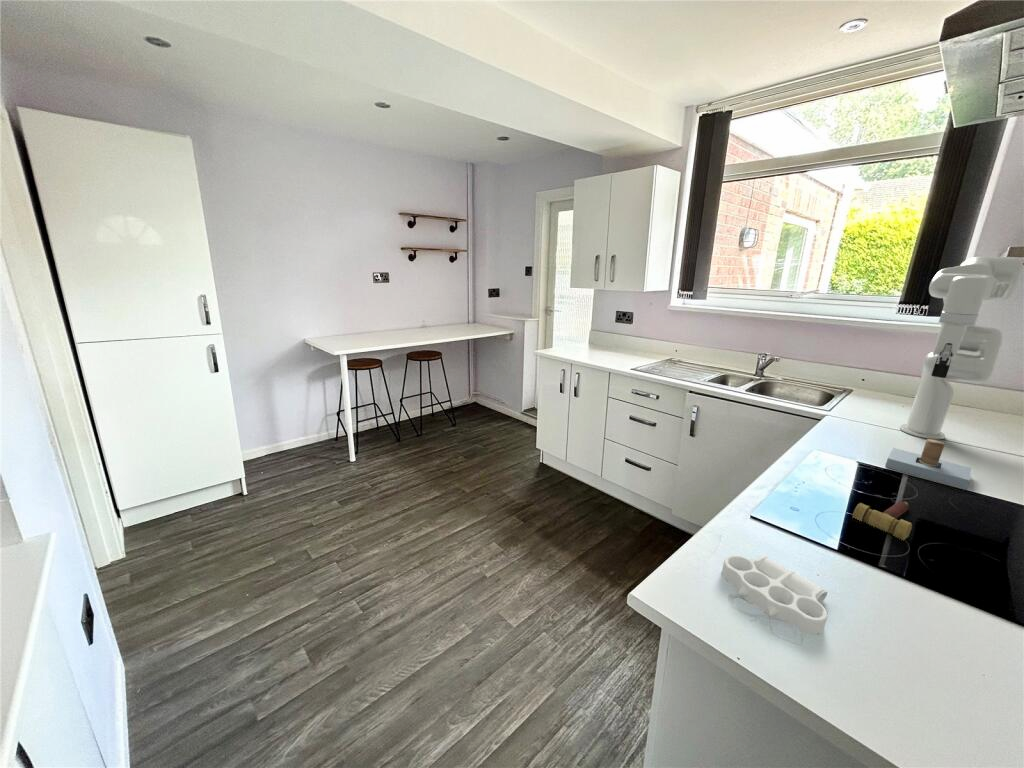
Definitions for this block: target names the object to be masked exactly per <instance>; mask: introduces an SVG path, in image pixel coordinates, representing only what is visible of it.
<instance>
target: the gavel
mask: <svg viewBox="0 0 1024 768" xmlns="http://www.w3.org/2000/svg"><path fill="white" fill-rule="evenodd" d="M909 508H910V507H909V503H908V502H907V501H898V502H896V503H894V504H893V505H892V506H890V507H888V508H887V509H885V510H884V511H882V512H881V511H879V510H876V509H871V506H870V505H867V504H864V503H862V502H859V503H858V504H857V505H856V506H855V508H854V510H853V513H852V519H853V518H855V519H857V520H859V521H861V522H862V521H863V523H865V522H866V523H865V524H867V525H868V524H869V525H868V526H870V525H871V526H870V527H872V526H873V527H872V528H875V527H876V528H875V529H877V528H878V529H877V530H879V529H880V530H879V531H882V530H883V531H882V532H884V531H885V532H884V533H886V532H889V533H888V534H890V533H891V535H892V537H893V536H895V537H897V538H899V539H898V540H900V539H901V540H900V541H902V540H903V541H904V540H905V539H906V538H907V539H908V537H909V536H910V533H911V531H912V528H913V524H912V523H911V522H909V521H907V520H904V519H902V518H901V519H899V520H898V518H900V516H902V515H903V514H904V513H906V512H907V511H908V510H909ZM895 537H894V538H895ZM897 538H896V539H897ZM907 539H906V540H907ZM906 540H905V541H906ZM905 541H904V542H905Z"/></svg>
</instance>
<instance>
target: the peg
mask: <svg viewBox="0 0 1024 768" xmlns="http://www.w3.org/2000/svg"><path fill="white" fill-rule="evenodd" d="M945 445H946V444H945V442H943V441H940V440H938V439H928V438H926V441H925V443H924V447H923V450H922V453H921V454H920V455H921V458H920V460H919V463H920V464H924V465H928V466H931V467H935V468H937V466H938V462H939V460H941V457H942V453H943V450H944V447H945Z"/></svg>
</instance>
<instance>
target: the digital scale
mask: <svg viewBox="0 0 1024 768" xmlns="http://www.w3.org/2000/svg"><path fill="white" fill-rule="evenodd" d="M921 455H922V454H919V453H916V452H912V451H907V450H904V449H900V448H896V447H893V448H892V450H891V451H890V453H889V455H888V457H887V460H886V463H885V466H886V467H885V468H888V467H889V468H888V469H891V468H892V470H896V471H899V472H902V473H906V474H910V475H912V476H916V477H920V478H924V479H927V480H931V481H934V482H938V483H940V484H945V485H949V486H952V487H955V488H958V489H962V490H965V491H966V490H968V486H969V484H970V480H971V472H972V471H971V469H972V467H970V466H966V465H962V464H958V463H954V462H951V461H946V460H944V459H943V460H942V459H939V462H938V466H937V468H935V467H931V466H928V465H924V464H920V463H919V460H920V458H921Z"/></svg>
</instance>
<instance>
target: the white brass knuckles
mask: <svg viewBox="0 0 1024 768" xmlns="http://www.w3.org/2000/svg"><path fill="white" fill-rule="evenodd" d="M738 569H739V570H738ZM721 575H722V578H723V579H724V580H725V581H726V582H729V583H730V584H731V585H733V587H735V588H736V590H737V591H738V592H737V594H739V595H740V596H742V598H744V599H745V600H746V601H747V602H749V603H751V604H754V605H756V606H757V607H758V606H759V607H758V608H759V609H761V610H762V611H763V613H764V614H766V615H769V616H770V617H771V618H774V619H775V620H780V621H782V622H783V621H784V622H786V623H788V624H791V625H792V626H794V627H795V628H796V629H798V630H799V631H800V632H802V633H804V634H808V635H819V634H818V633H820V634H822V633H823V632H822V631H824V629H825V626H826V623H827V619H828V612H827V610H826V608H825V606H824V605H822V603H823V602H824V600H826V598H827V596H828V591H826V589H824V588H822V587H819V586H818V585H816V584H814V583H813V582H811V581H809V580H808V579H806V578H805V577H802V576H801V575H799V574H798V573H796V572H795V571H793V570H791V569H789V568H787V567H785V565H782V564H780V563H779V562H777V561H775V560H774V559H772V558H770V557H769V556H767V555H765V554H761V555H760V556H758V557H757V558H755V559H752V558H751V559H750V558H747V557H744V556H742V555H735V554H733V555H727V556H726V557H725V558H724V560H723V565H722V569H721ZM780 602H781V603H780ZM806 613H807V614H806ZM808 614H809V615H808ZM810 615H811V616H810ZM821 632H822V633H821Z"/></svg>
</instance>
